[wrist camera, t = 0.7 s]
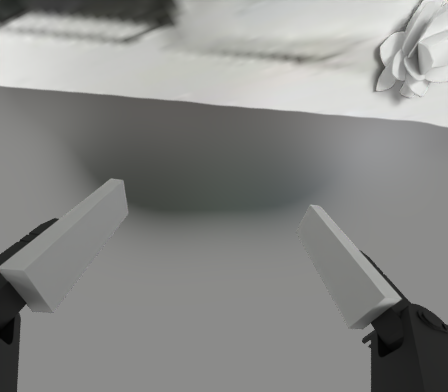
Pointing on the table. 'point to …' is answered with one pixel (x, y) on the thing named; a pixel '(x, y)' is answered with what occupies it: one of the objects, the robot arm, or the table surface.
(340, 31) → the table surface
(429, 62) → the lotus flower
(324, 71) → the table surface
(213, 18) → the table surface
